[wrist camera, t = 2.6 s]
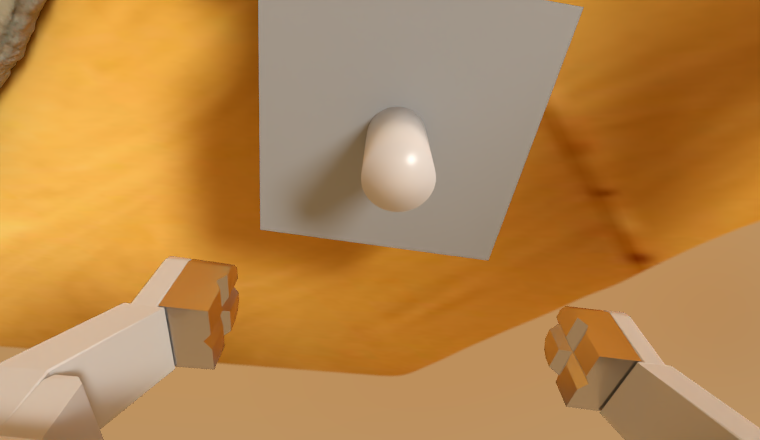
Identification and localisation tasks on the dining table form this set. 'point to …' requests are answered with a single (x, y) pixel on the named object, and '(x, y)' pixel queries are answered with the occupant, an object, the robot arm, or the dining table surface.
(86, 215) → the dining table surface
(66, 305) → the dining table surface
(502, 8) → the cover
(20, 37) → the elongated rock
